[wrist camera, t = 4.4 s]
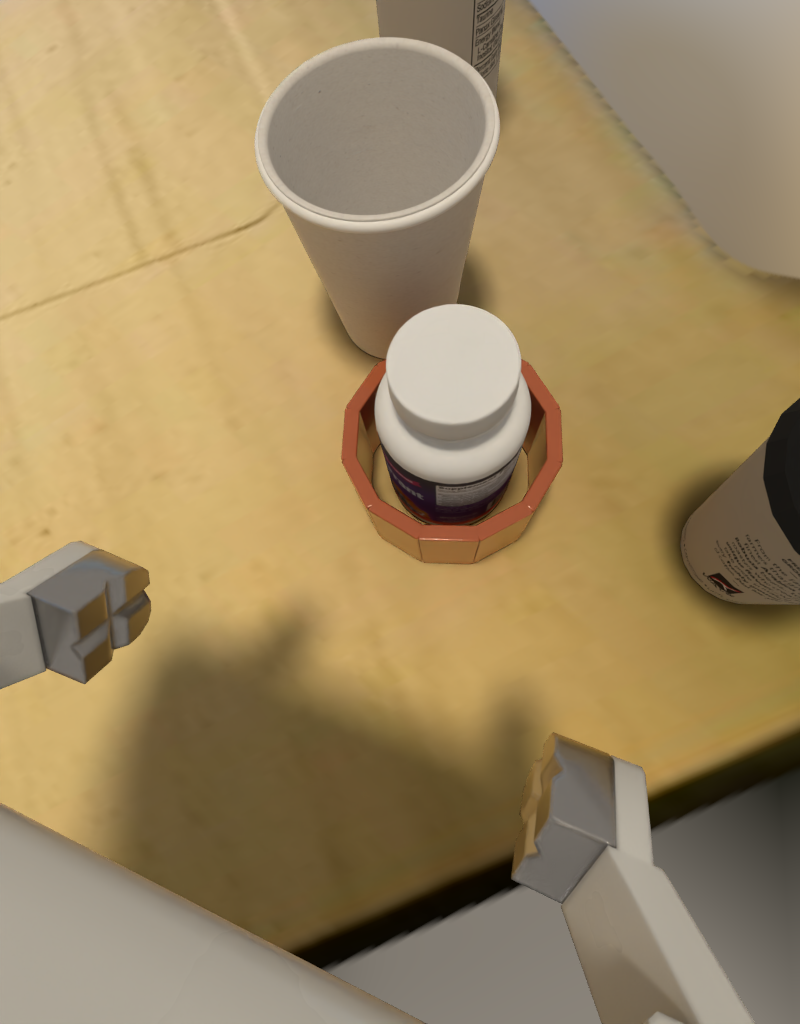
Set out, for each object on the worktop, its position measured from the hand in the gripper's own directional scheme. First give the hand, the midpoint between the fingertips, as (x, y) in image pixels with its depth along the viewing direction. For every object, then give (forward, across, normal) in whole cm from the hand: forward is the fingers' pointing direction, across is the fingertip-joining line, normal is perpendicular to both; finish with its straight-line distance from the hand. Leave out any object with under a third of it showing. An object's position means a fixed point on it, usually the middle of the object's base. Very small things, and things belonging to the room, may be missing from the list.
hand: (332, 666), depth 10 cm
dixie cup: (+21, +6, -2) cm, 22 cm away
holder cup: (+16, +1, +3) cm, 16 cm away
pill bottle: (+16, +1, +3) cm, 16 cm away
